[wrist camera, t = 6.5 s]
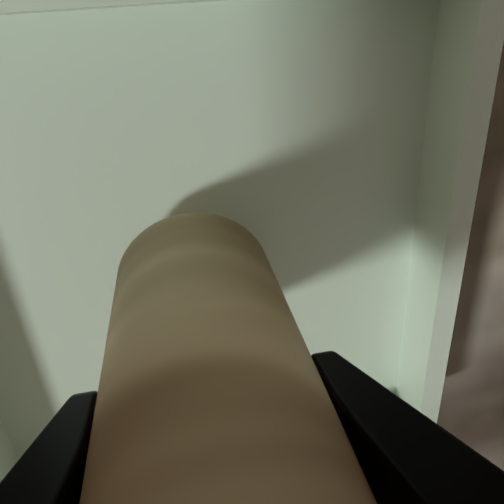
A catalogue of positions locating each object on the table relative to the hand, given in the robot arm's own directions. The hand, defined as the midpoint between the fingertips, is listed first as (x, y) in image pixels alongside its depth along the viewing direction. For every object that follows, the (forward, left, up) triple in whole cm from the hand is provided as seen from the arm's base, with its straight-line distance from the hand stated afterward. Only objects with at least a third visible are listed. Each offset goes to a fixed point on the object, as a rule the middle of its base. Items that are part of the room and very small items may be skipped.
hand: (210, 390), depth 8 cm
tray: (0, 0, -5) cm, 5 cm away
